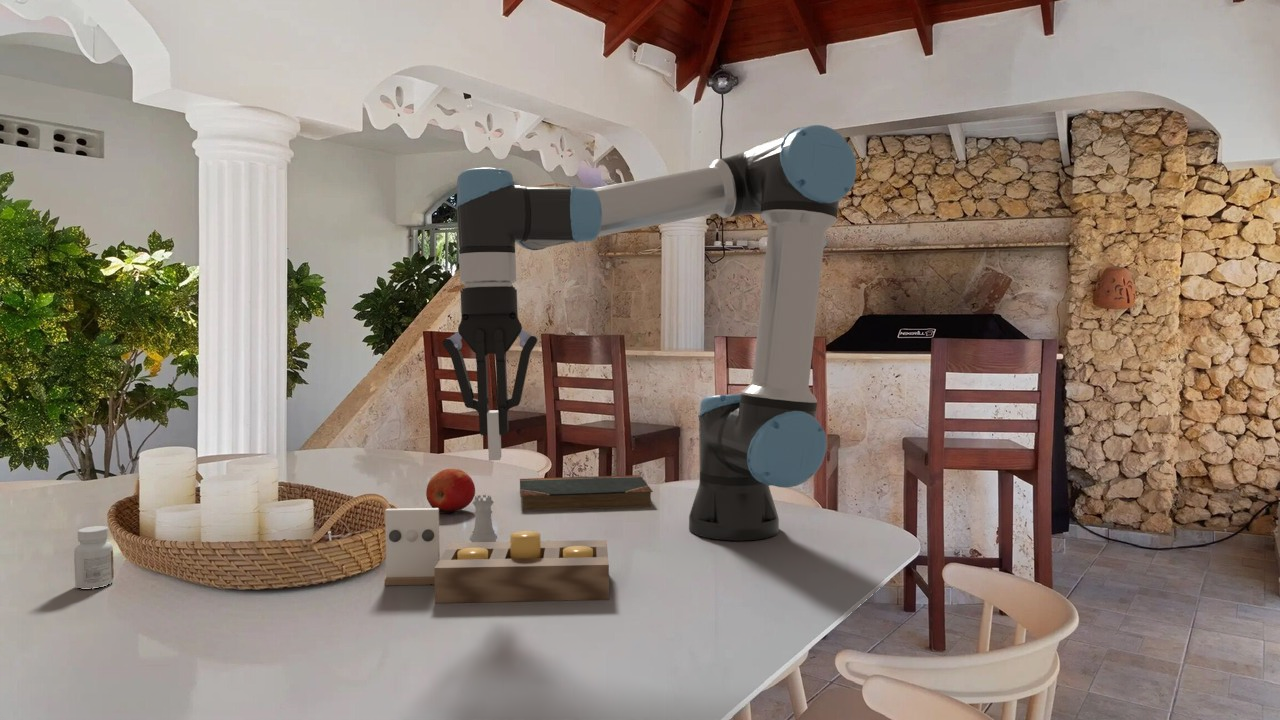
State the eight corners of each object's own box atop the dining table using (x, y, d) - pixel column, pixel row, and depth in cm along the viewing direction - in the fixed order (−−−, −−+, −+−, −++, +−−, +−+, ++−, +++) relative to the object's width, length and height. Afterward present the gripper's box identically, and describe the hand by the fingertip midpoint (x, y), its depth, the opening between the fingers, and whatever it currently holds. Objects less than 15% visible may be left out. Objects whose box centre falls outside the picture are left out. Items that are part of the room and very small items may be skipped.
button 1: (489, 577, 116) (489, 547, 116) (486, 587, 112) (486, 555, 112) (460, 578, 116) (459, 547, 116) (455, 587, 112) (455, 556, 112)
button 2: (592, 575, 117) (592, 545, 117) (592, 585, 113) (592, 553, 113) (563, 576, 117) (563, 546, 117) (562, 585, 113) (562, 554, 113)
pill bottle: (121, 582, 116) (119, 526, 116) (91, 592, 112) (89, 534, 112) (98, 579, 118) (96, 523, 117) (67, 588, 114) (65, 531, 113)
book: (520, 514, 159) (653, 509, 162) (520, 494, 158) (653, 490, 162) (519, 494, 176) (639, 490, 179) (519, 477, 176) (639, 473, 179)
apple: (481, 510, 159) (481, 468, 158) (449, 519, 152) (448, 475, 151) (450, 505, 163) (450, 464, 163) (417, 514, 156) (417, 470, 156)
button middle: (541, 561, 117) (541, 530, 116) (539, 569, 113) (539, 538, 112) (511, 561, 116) (511, 531, 116) (509, 570, 112) (508, 538, 112)
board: (606, 571, 121) (606, 540, 121) (608, 599, 109) (608, 564, 109) (450, 574, 120) (449, 542, 120) (434, 603, 108) (434, 567, 108)
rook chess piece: (491, 551, 132) (491, 500, 131) (464, 550, 132) (463, 498, 132) (502, 544, 136) (501, 494, 135) (475, 542, 137) (475, 493, 136)
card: (441, 577, 118) (440, 506, 118) (437, 584, 115) (436, 511, 115) (389, 578, 118) (388, 507, 117) (384, 585, 115) (383, 512, 114)
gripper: (538, 285, 120) (543, 452, 121) (443, 287, 119) (450, 455, 120) (535, 283, 112) (542, 461, 114) (435, 286, 111) (442, 465, 113)
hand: (495, 458), depth 117 cm, fingers closed
